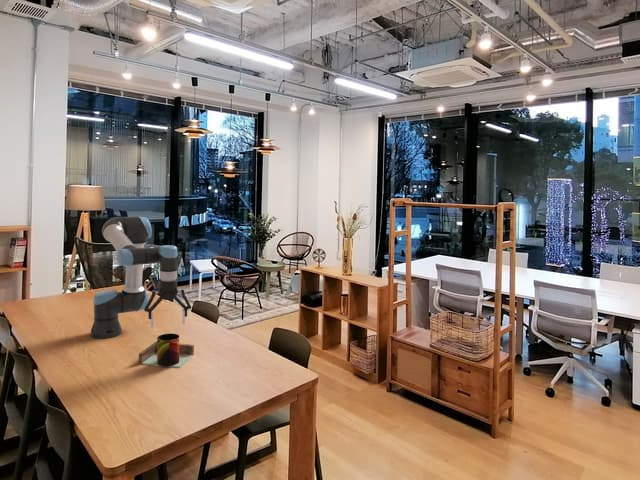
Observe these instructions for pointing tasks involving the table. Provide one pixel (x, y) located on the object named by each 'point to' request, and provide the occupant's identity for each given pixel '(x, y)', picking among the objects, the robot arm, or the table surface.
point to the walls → (153, 349)
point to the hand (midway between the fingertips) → (168, 324)
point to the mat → (182, 360)
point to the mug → (168, 349)
